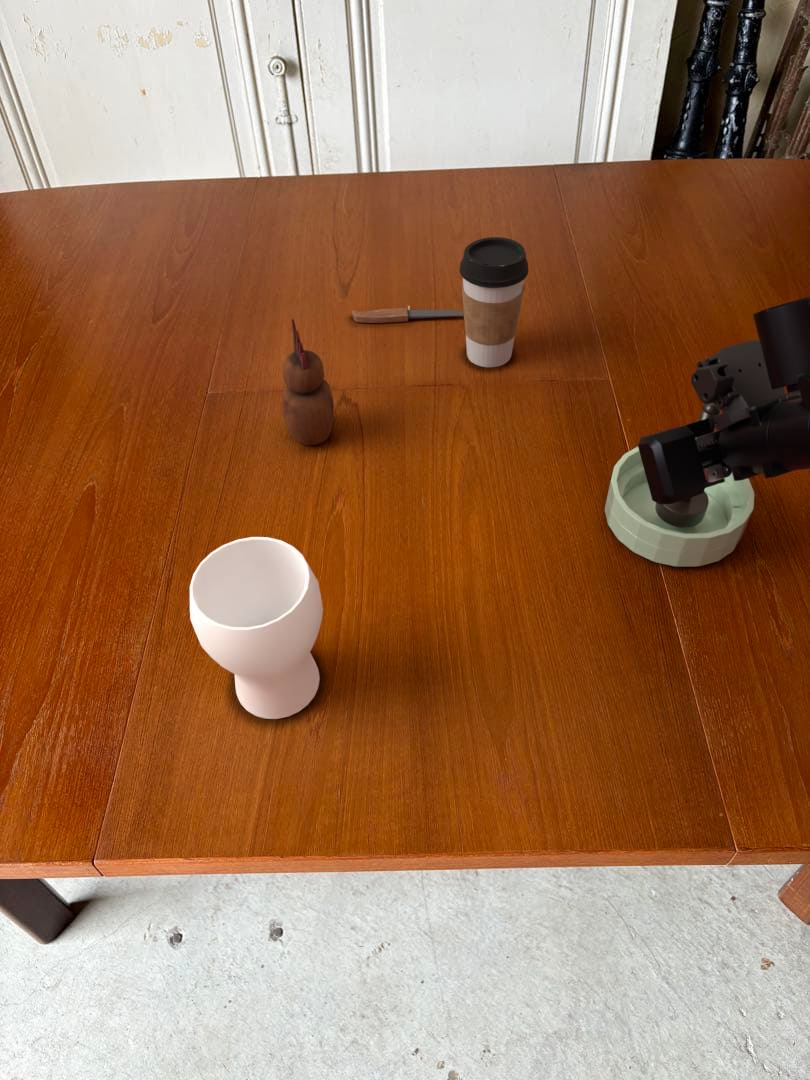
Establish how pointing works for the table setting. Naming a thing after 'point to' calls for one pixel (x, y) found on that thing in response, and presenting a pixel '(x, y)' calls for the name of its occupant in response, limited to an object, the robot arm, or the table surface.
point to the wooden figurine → (306, 395)
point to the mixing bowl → (669, 544)
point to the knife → (400, 315)
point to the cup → (260, 622)
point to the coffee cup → (492, 298)
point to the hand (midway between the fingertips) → (687, 452)
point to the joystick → (694, 507)
